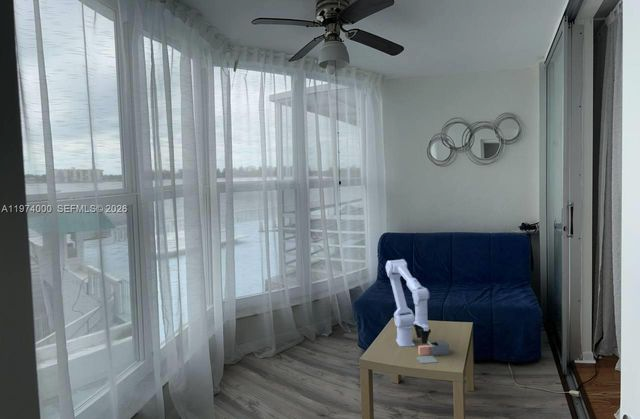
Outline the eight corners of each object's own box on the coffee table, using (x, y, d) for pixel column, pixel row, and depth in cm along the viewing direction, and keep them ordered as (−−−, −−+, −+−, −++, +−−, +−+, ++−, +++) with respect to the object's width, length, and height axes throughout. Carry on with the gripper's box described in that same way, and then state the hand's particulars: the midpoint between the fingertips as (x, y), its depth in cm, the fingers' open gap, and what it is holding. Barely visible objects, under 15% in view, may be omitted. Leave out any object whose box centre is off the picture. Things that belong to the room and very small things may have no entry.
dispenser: (427, 351, 212) (426, 341, 212) (444, 349, 213) (444, 339, 213) (431, 355, 206) (431, 345, 206) (449, 354, 207) (449, 344, 207)
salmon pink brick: (418, 353, 210) (418, 345, 209) (434, 352, 210) (434, 344, 210) (419, 355, 208) (419, 347, 208) (435, 354, 208) (435, 346, 208)
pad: (416, 357, 205) (416, 356, 205) (432, 356, 206) (432, 355, 206) (421, 363, 198) (421, 362, 198) (437, 362, 199) (437, 361, 199)
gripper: (408, 309, 214) (409, 335, 215) (417, 318, 200) (418, 346, 201) (422, 308, 215) (423, 334, 216) (432, 317, 201) (433, 345, 201)
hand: (421, 340), depth 208 cm, fingers open, 7 cm apart
